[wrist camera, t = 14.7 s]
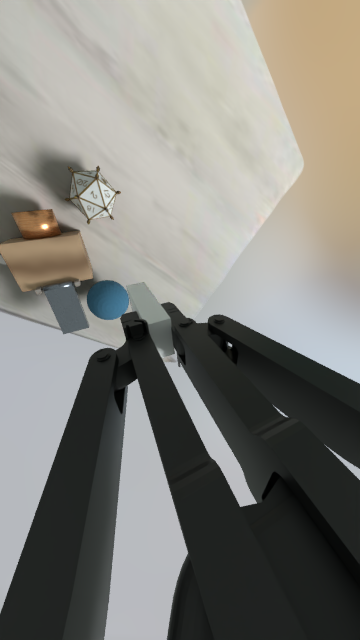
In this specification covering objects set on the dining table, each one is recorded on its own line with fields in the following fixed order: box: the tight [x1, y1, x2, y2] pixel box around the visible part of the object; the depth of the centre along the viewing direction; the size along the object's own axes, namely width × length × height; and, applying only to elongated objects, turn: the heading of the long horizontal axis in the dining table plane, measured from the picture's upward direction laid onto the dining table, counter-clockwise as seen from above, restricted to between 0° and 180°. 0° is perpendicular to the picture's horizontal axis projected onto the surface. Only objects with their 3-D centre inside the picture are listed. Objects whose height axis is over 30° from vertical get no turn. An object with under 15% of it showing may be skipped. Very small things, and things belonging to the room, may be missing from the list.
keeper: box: [43, 281, 89, 334], centre depth 37 cm, size 10×5×1 cm, turn 5°
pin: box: [11, 209, 61, 240], centre depth 37 cm, size 16×6×6 cm, turn 5°
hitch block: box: [0, 231, 93, 295], centre depth 36 cm, size 8×12×9 cm
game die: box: [65, 166, 121, 224], centre depth 34 cm, size 9×8×10 cm
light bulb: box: [87, 280, 129, 320], centre depth 42 cm, size 8×8×12 cm
